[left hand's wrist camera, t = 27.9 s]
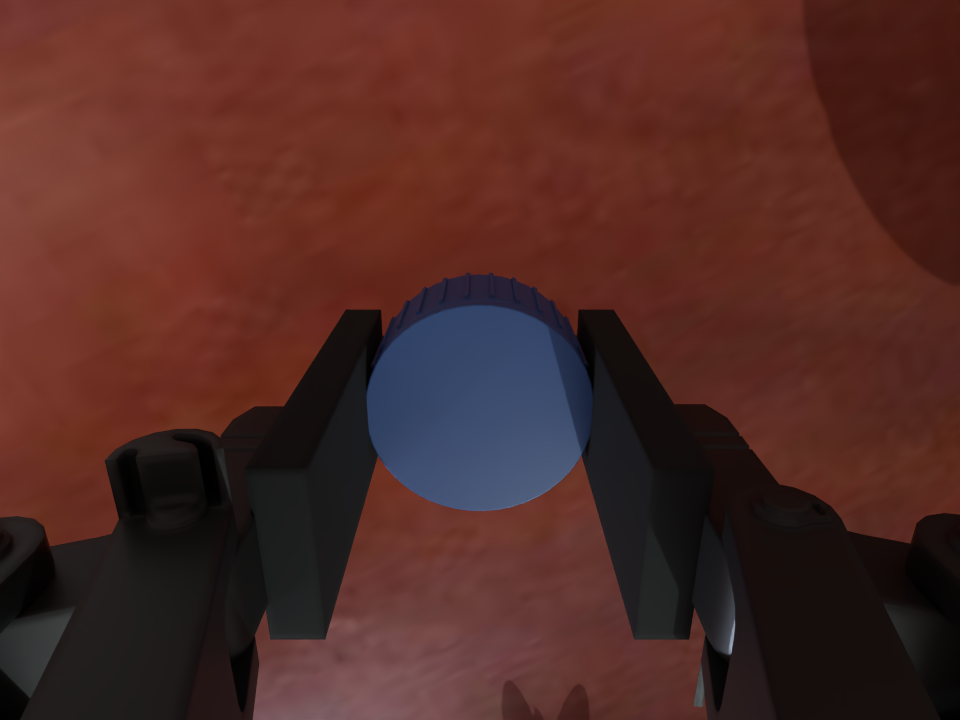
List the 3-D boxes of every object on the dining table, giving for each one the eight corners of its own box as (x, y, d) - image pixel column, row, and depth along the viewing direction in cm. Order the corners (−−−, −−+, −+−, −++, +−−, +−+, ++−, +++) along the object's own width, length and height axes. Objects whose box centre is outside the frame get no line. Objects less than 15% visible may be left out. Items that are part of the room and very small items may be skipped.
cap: (620, 329, 14) (644, 369, 12) (518, 486, 15) (524, 546, 13) (434, 233, 13) (426, 257, 11) (346, 408, 15) (325, 457, 13)
